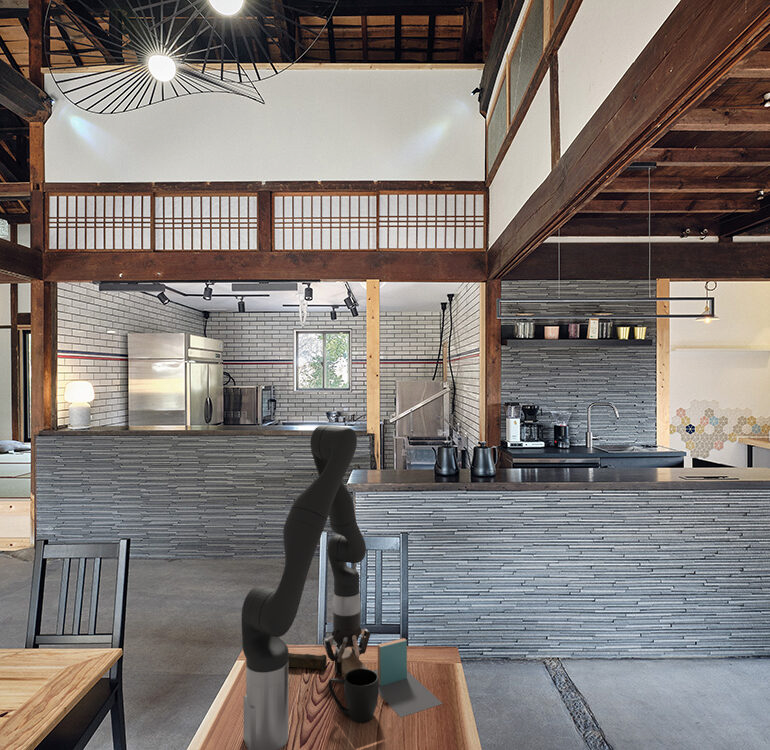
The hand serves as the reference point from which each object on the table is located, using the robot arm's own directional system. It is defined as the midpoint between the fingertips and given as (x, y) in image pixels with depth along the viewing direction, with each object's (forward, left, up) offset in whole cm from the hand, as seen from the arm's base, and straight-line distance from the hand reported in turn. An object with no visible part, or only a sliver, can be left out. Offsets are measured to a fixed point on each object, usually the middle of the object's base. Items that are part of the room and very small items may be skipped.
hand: (346, 671), depth 148 cm
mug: (-7, -19, -1) cm, 20 cm away
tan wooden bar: (0, -5, 0) cm, 5 cm away
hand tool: (-12, +10, -1) cm, 16 cm away
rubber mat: (+9, -14, 0) cm, 17 cm away
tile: (+9, -10, 0) cm, 13 cm away
